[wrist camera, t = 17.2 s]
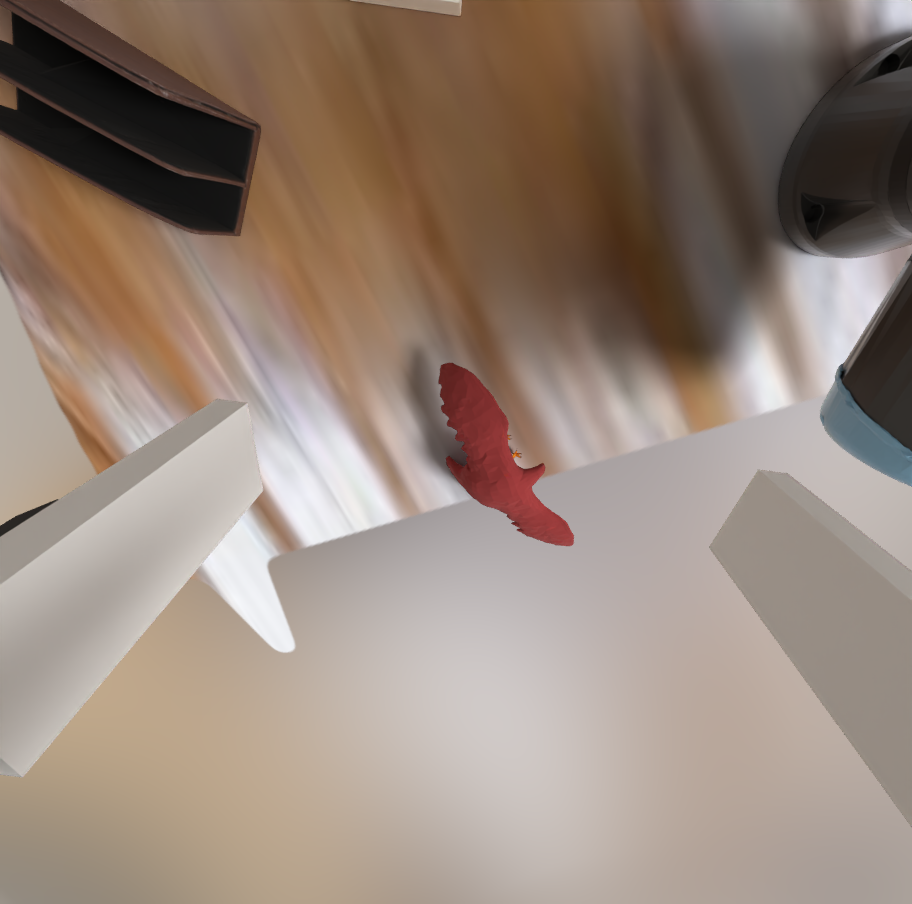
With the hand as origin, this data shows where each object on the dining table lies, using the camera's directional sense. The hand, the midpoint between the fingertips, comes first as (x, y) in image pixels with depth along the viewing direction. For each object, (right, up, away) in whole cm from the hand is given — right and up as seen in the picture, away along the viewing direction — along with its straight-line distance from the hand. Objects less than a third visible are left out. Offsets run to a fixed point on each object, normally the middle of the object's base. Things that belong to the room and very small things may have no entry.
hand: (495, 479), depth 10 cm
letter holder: (-29, +31, +24) cm, 49 cm away
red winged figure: (+4, +1, +40) cm, 40 cm away
